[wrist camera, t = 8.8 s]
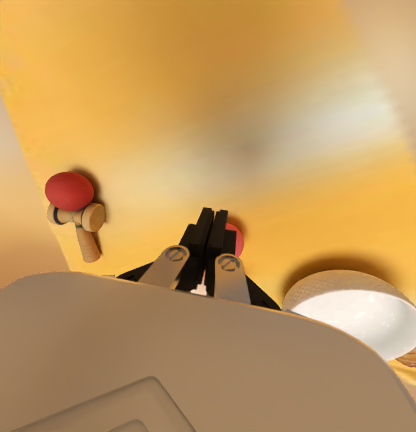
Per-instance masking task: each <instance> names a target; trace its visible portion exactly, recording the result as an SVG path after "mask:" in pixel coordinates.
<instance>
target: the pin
mask: <svg viewBox="0 0 416 432" xmlns="http://www.w3.org/2000/svg"><path fill="white" fill-rule="evenodd" d="M204 276H205V272H204ZM204 276H203V280H202V284H201V285H199V284H198V286H197V290H194V289H193V290H191V293H195V294H200V295H205V296H206V293H207V292H206V286H204Z"/></svg>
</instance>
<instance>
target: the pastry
mask: <svg viewBox="0 0 416 432" xmlns="http://www.w3.org/2000/svg"><path fill="white" fill-rule="evenodd" d="M395 359H396V360H397V361H399V362H401V363H402V364H404V365H406V366H408V367H416V347H415V348H414V349H412V350H411V351H410V352H408V353H406V354H404V355H402V356H400V357H398V358H395Z"/></svg>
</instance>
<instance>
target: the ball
mask: <svg viewBox="0 0 416 432" xmlns="http://www.w3.org/2000/svg"><path fill="white" fill-rule="evenodd" d="M226 229H228V230H234V231H237V235H236V252H235V256H237V257H239V256H240V255H241V253H242V251H243V246H244V241H243V237H242V234H241V232H240V231H239V230H238V229H237V228H236V227H235V226H233V225H231V224H229V223H226Z"/></svg>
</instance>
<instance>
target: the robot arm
mask: <svg viewBox="0 0 416 432" xmlns="http://www.w3.org/2000/svg"><path fill="white" fill-rule="evenodd" d="M227 215H228V211H227V210H220V212H219V211H217V212H216V216H215V219H214V211H212V208H205V207H204V208H203V210H202V212H201V215H200V217H199V219H198V222H197V224H196V225H195V224H189V225H188V227H187V229H186V231H185V233H184V235H183V237H182V239H181V241H180V243H179V245H173V246H170V247H168V248H166V249H165V250H164V251H163V252H162V253H161V255H160V256H159V257H158V258H157V259H156V260H155V261H154V262H152V263H149V264H146V265H144V266H141V267H139V268H136V269H133V270H131V271H128V272H126V273H123V274H121V275H119V276H118V277H115V275H95V274H89V273H82V272H72V271H51V272H43V273H37V274H32V275H28V276H25V277H22V278H20V279H17V280H15V281H14V282H11V283H10V284H8V285H6V286H4V287H3V288H1V289H0V432H416V402H415V400H414V398H413V397H412V396H411V394H410V393H409V391H408V390H407V388H406V387H405V385H404V384H403V382H402V381H401V380H400V378H399V377H398V376H397V374H396V373H395V372H394V370H393V369H392V368H391V367H390V366H389V364H388V363H387V362H386V361H385V360H384V359H383V358H382V357H381V356H380V355H379V354H378V353H377V352H376V351H375V350H373V349H372V348H371V347H369V346H368V345H367V344H365V343H364V342H362V341H361V340H359V339H357V338H356V337H354V336H352V335H350V334H348V333H346V332H344V331H342V330H340V329H338V328H336V327H333V326H331V325H329V324H326V323H324V322H321V321H318V320H314V319H311V318H308V317H306V316H303V315H301V314H298V313H296V312H293V311H291V310H288V309H286V311H284V310H282V309H280V307H279V306H278V305H277V304H276V302H275V301H273V300H272V299H271V298H270V297H269V296H268V295H267V294H266V293H265V292H264V291H263V290H262V289H261V288H259V287H258V286H257V285H256V284H255V283H254V282H253V281H252V280H251V279H250V278H249V277H248V276H247V275H246V274H245V272H244V267H243V263H242V261H241V260H240V258H238V257H237V256H235V252H236V235H237V231H234V230H228V229H226V222H227ZM213 222H214V223H213ZM204 272H205V276H204ZM203 276H204V286H206V292H207V293H208V295H209V296H205V295H200V294H195V293H190V292H189V291H191V290H193V289H194V290H197V286H198V284H199V285H201V284H202V280H203Z"/></svg>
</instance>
